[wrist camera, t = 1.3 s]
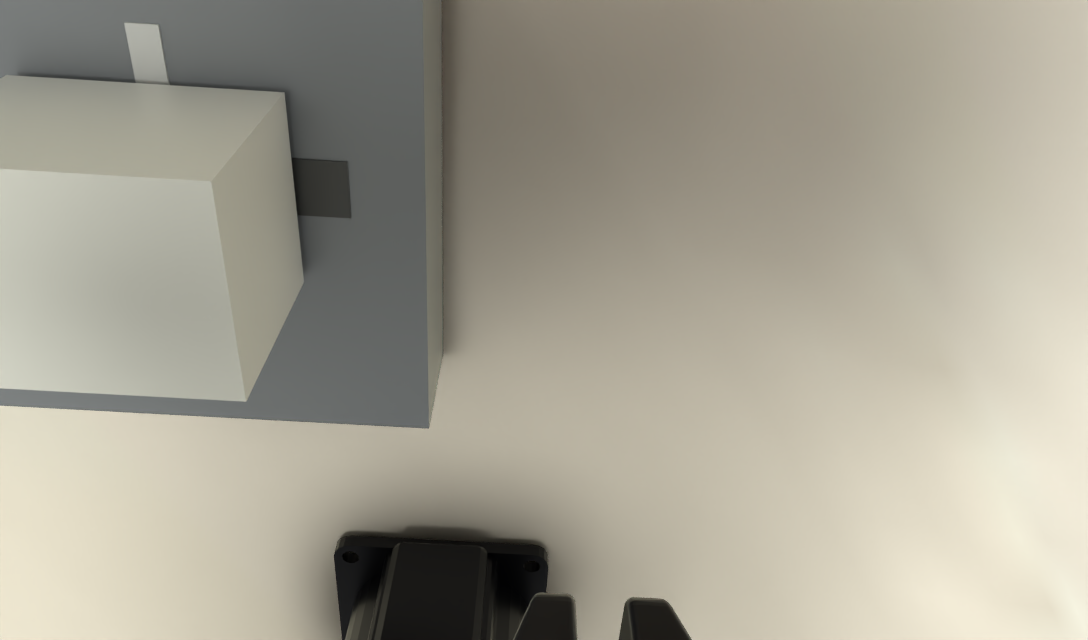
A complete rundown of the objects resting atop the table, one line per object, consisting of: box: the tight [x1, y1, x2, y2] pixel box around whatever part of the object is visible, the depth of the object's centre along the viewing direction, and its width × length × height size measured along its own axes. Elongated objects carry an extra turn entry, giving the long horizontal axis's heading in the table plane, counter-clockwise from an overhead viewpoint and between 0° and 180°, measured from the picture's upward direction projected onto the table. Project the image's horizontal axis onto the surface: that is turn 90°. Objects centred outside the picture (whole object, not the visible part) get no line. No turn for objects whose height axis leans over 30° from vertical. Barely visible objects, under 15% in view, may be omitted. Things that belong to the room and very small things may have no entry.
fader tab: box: [0, 75, 304, 402], centre depth 15 cm, size 4×5×4 cm
